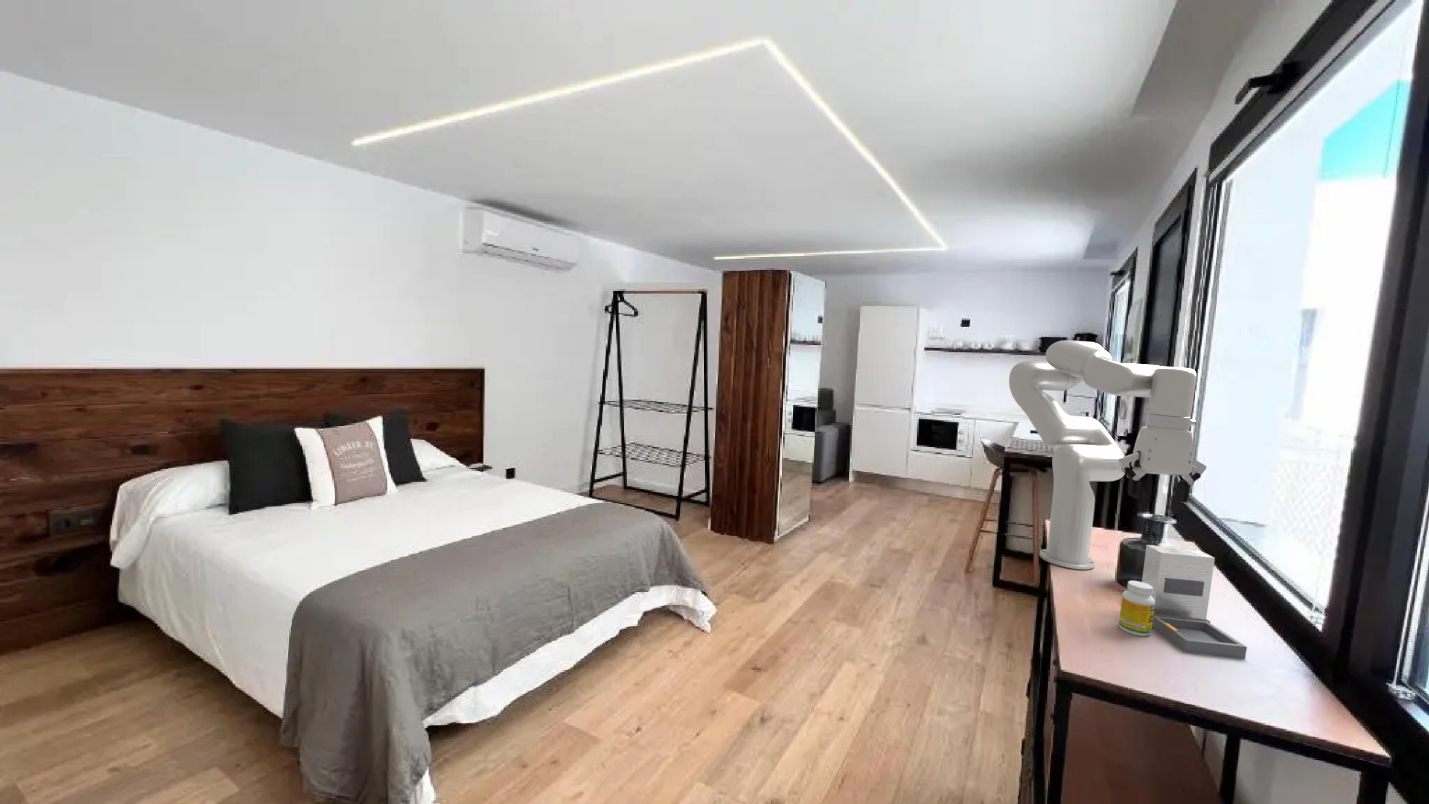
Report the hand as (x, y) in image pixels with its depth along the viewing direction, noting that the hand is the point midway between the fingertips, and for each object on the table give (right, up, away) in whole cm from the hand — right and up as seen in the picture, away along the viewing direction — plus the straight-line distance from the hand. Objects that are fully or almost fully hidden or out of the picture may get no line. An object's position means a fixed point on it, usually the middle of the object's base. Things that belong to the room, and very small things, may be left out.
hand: (1157, 498), depth 129 cm
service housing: (-3, -24, -7) cm, 25 cm away
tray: (-5, -25, -17) cm, 30 cm away
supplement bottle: (-15, -24, -13) cm, 32 cm away
